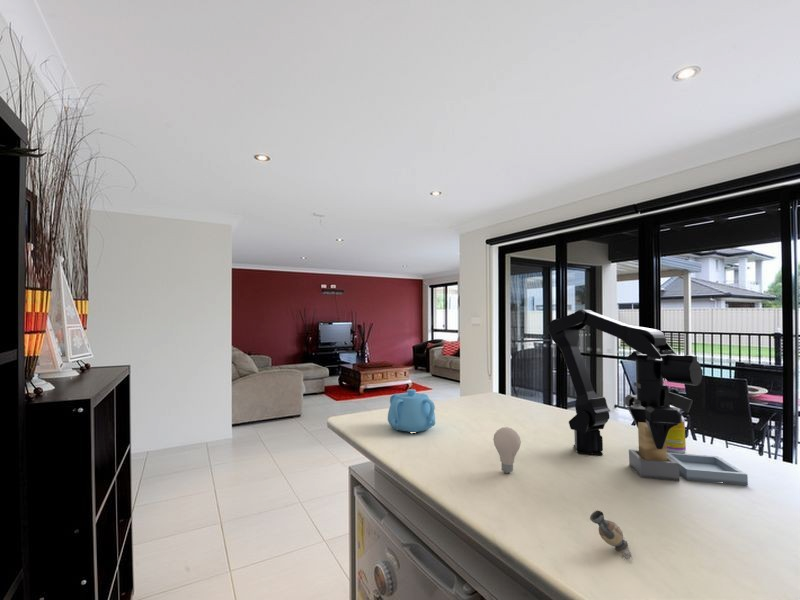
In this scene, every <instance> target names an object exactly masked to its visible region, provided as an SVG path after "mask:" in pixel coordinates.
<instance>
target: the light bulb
mask: <svg viewBox="0 0 800 600" xmlns="http://www.w3.org/2000/svg"><path fill="white" fill-rule="evenodd" d="M492 440H493V445H494V447H495V449H496V451H497V453H498V455H499V460H500V462H501V470H502V471H503V472H504V473H506V474H510V473H512V472H513V471H514V463H515V458H516V456H517V453H518V451H519V450H520V449H521V443H522V441H521V437H520V435H519V434H518V432H517V431H516V430H515V429H513V428H511V427H508V426H505V427H501V428H499V429H498V430H496V432H495V433H494V434H493V439H492Z"/></svg>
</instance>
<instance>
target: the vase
mask: <svg viewBox="0 0 800 600" xmlns="http://www.w3.org/2000/svg"><path fill="white" fill-rule="evenodd" d="M589 519H590V522H592V523H594V524H597V525H598V535H599V536H600V538H601V539H602V540H603V541H604V542H605V544H608V545H609V546H612V547H614V549H615V551H617V552H618V553H619V552H620V553H619V554H621V555H622V554H623V555H624V556H623V555H622V556H621V559H623V561H624V560H626V559H627V558H628V560H629V559H631V561H630V562H633V557H632V553H631V551H630V546H629V543H628V541H627V540H626V539H625V538H624V533H623V529H621V527H620V526H619V525H618V524H617V523H616V522H614V521H613V520H606V519H605V516H604V513H603V511H601V510H598V509H597V510H595V511H594V512H592V513H591V515H590V517H589ZM593 547H594V546H593ZM624 558H626V559H624Z"/></svg>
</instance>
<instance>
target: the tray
mask: <svg viewBox="0 0 800 600" xmlns="http://www.w3.org/2000/svg"><path fill="white" fill-rule="evenodd" d="M667 455H668V456H670V457H671V458H672V459H673V460H675V461H676V462H677V463H679V476H681V477H682V478H684V479H685V480H686V481H692V482H693V481H694V482H701V481H704V482H703V483H713V482H723V483H722V484H724V483H732V484H731V485H735V484H739V485H738V486H746V485H748V486H749V480H748V474H747V473H746V472H744V471H743V470H741V469H739V468H737V467H736V466H734V465H732V464H731V463H730V462H727V461H726V460H724V459H723V458H721V457H720V456H717V455H703V454H694V453H693V454H692V453H671V452H667Z"/></svg>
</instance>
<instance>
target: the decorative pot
mask: <svg viewBox="0 0 800 600" xmlns="http://www.w3.org/2000/svg"><path fill="white" fill-rule="evenodd" d="M389 404H390V405H389V408H388V412H387V422H388V423H389V425H390V427H391V428H392V429H394V430H395V429H398V430H399V431H403V432H408V433H409V432H419V433H420V432H423V431H427V429H428V430H429V429H432V427H434V426H435V425H436V413H435V409H436V407H435V403H434V402H433V401H432V399H430V397H429V396H428V394H426V393H419V392H418V393H417V390H416V389H413V388H410V389H407V390H406V392H402V393H393V394H392V395H390V398H389ZM398 430H397V431H398Z"/></svg>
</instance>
